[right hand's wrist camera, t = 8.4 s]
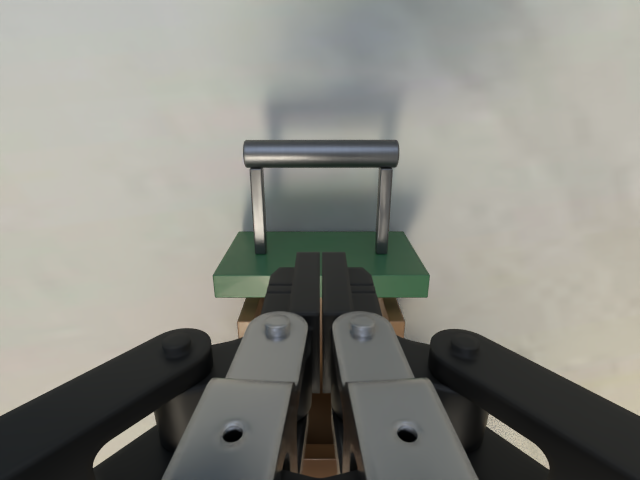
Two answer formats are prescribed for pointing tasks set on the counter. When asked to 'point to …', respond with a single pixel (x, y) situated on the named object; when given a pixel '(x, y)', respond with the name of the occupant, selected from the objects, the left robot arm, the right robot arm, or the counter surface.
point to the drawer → (321, 244)
